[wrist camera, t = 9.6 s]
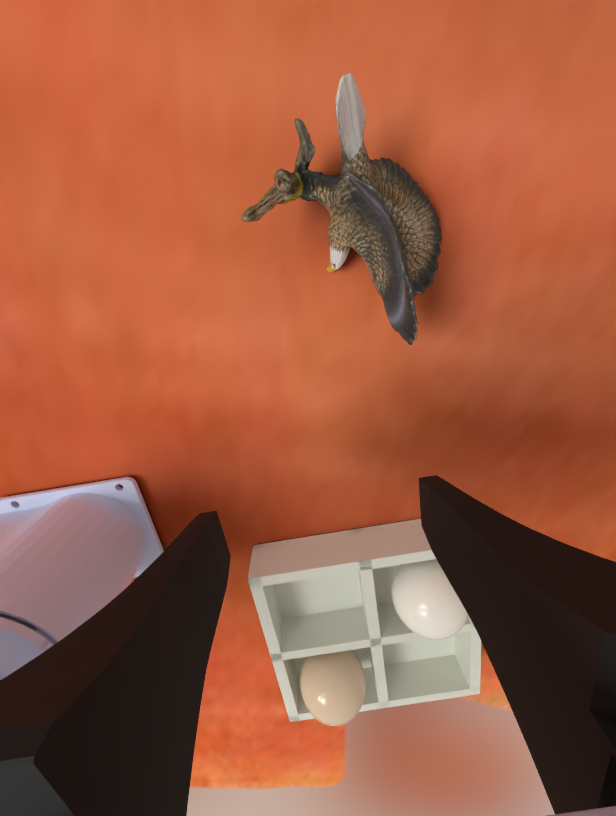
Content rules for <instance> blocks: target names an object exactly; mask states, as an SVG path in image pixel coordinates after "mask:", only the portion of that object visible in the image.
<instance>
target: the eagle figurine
mask: <svg viewBox="0 0 616 816" xmlns="http://www.w3.org/2000/svg"><path fill="white" fill-rule="evenodd" d="M336 114H337V124H338V131H339V137H340V141H341V145H342V148H343V150H342V167H341V173H339V174H337V175H332V176H331V175H324V174H323V173H321V172H312V171H311V170H309V169H308V166H309V163H310V161H311V159H312V157H313V155H314V153H315V147H314V145H313V144H312V142H311V140H310V134H309V133H308V132H307V129H306V127H305V125H304V123H303V121H301V120H300V119H295V126H296V129H297V132H298V135H299V138H300V148H299V152H298V155H297V158H296V162H295V171H294V172H293V173H292V174H291V173H290V172H288V171H286V170H284V169H279V170H278V171H277V172H276V173H275V185H274V186H273V187H272V188H271V189H270V190H269V191H268V192H267V193H266V194H265V195H264V196H263V197H262V198H261V199H260V200H259V201H258V203H256V204H255V205H254V206H251V207H250V208H248V209H247V210H246V211H245V212H244V213H243V214H242V215H241V219H242V220H243V221H245V222H252V221H257V220H259V219H260V218H261V217H262V216H263V215H264V214H265V213H266V212H267V211H269V210H271V209H272V208H274V206H275V205H276V204H285V203H287V202H289V201H293V200H296V199H297V198H299V197H300V198H302V199H304V200H306V201H313V200H316V201H318V202H319V203H320V204H322V205H323V206H325V207H326V209H327V210H328V212H329V214H330V221H329V235H328V238H329V246H330V264H329V266H328V267H327V271H328V272H333V271H335V270H337V269H339V268H340V267H341V266H342V264H343V263H344V262H345V260H346V258H347V256H348V253H349V251H350V248H351V247H352V248H353V249H354V250H355V251H356V252H357V253H358V254H359V255H360V256H361V257H362V258H363V260H364V262H365V263H366V265H367V267H368V270H369V272H370V275H371V278H372V281H373V284H374V286H375V288H376V289H377V291H378V292H379V294H380V295H381V297H382V299H383V301H384V307H385V310H386V313H387V316H388V318H389V321H390V323H391V325H392V327H393V329H394V330H395V331H396V332H399V334H400V335H401V337H402V338H403V339H404V340H406V341H407V342H408V344H409V345H412V344H413V340H416V338H417V336H416V333H417V331H418V330H417V327H416V325H418V321H417V317H416V314H415V313H416V308H415V305H414V296H415V294H416V293H418V294H423V293H424V292H425V288H426V287H429V286H431V284H432V282H433V273H436V272H437V269H438V264H437V260H436V256H438V255H439V254H440V249H439V244H440V242H441V236H440V233H441V231H440V227H439V219H438V218H437V216H436V210H435V209H434V207H432V206H431V202H430V201H429V200H428V197H427V196H426V195H425V194H423V191H422V189H421V188H420V187H419V186H418V184H417V183H416V182H415V181H414V180H412V178H411V176H410V175H409V173H407V171H406V170H405V169H404V168H402V167H400V165H399V164H398V163H394V162H393V161H392V160H391V159H385V158H381V159H380V160H378V159H375V160H373V161H372V160H371V159H369V157H368V154H367V151H366V148H365V145H364V143H363V134H364V128H365V107H364V104H363V101H362V98H361V96H360V94H359V91H358V86H357V83H356V81H355V80H354V77H353V75H352V74H351V73H348V74H346V75H345V74H344V75H343V76H342V78H341V79H340V83H339V86H338V92H337V96H336Z"/></svg>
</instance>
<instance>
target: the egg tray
mask: <svg viewBox="0 0 616 816" xmlns="http://www.w3.org/2000/svg"><path fill="white" fill-rule="evenodd" d="M433 559H436V557H435V556H434V554H433V552H432V550H431V547H430V545H429V543H428V540H427V538H426V536H425V533H424V531H423V528H422V526H421V519H415V520H409V521H402V522H396V523H390V524H384V525H377V526H371V527H365V528H358V529H352V530H346V531H339V532H333V533H327V534H321V535H314V536H308V537H302V538H295V539H289V540H283V541H277V542H270V543H264V544H258V545H253V549H252V555H251V561H250V567H249V573H248V582H249V585H250V589H251V592H252V596H253V599H254V602H255V606H256V609H257V612H258V616H259V619H260V622H261V626H262V629H263V632H264V636H265V639H266V643H267V646H268V649H269V653H270V656H271V659H272V663H273V666H274V669H275V673H276V676H277V680H278V683H279V686H280V690H281V693H282V696H283V700H284V703H285V706H286V710H287V713H288V717H289V720H290V722H293V721H300V720H307V719H313V718H314V717H313V715H312V714H311V713H310V712H309V710H308V709H307V707H306V705H305V703H304V700H303V697H302V694H301V688H300V675H301V669H302V666H303V663H304V661H305V658H306V657H308V656H315V655H321V654H328V653H334V652H341V651H347V650H352V651H353V652H354V653H355V654H356V655H357V657H358V658H359V660H360V662H361V664H362V667H363V670H364V674H365V680H366V690H365V697H364V701H363V704H362V706H361V708H360V710H359V712H360V711H367V710H374V709H381V708H387V707H394V706H401V705H408V704H414V703H421V702H428V701H434V700H441V699H448V698H455V697H462V696H468V695H475V694H480V672H481V639H480V637H479V635H478V633H477V630H476V629H475V627H474V625H473V623H472V621H471V619H470V617H469V615H468V617H467V620H466V622H465V624H464V626H463V627H462V629H461V630H460V631H459V632H458V633H457V634H455V635H454V636H452V637H450V638H447V639H443V640H431V639H427V638H424V637H421V636H419V635H417V634H416V633H414V632H413V631H411V630H410V629H409V628H408V627H407V626H406V625H405V624H404V623H403V622H402V620H401V619H400V617H399V616H398V614H397V612H396V610H395V607H394V604H393V601H392V594H391V587H392V581H393V577H394V575H395V573H396V571H397V569H398V568H399V567H400V566H401V564H408V563H414V562H420V561H427V560H433Z"/></svg>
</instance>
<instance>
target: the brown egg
mask: <svg viewBox="0 0 616 816" xmlns="http://www.w3.org/2000/svg"><path fill="white" fill-rule="evenodd" d="M300 688H301V694H302V697H303V700H304V703H305V705H306V707H307V709H308V710H309V712H310V713H311V714H312V715H313V717H314V718H316V719H317V720H318V721H319V722H321V723H323V724H325V725H329V726H340V725H343V724H346V723H348V722H349V721H350V720H352V719H353V718H354V717H355V716H356V715H357V713H358V712H359V710H360V708H361V706H362V704H363V701H364V697H365V690H366V680H365V674H364V670H363V667H362V664H361V662H360V660H359V658H358V657H357V655H356V654H355V653H354V652H353V651H352V650H347V651H341V652H334V653H328V654H321V655H315V656H308V657H306V658H305V661H304V663H303V666H302V669H301V675H300Z"/></svg>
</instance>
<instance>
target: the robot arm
mask: <svg viewBox="0 0 616 816" xmlns="http://www.w3.org/2000/svg"><path fill="white" fill-rule="evenodd" d="M118 484H121V485H122V486H123V488H122V487H120V486H119V485H118ZM419 490H420V508H421V526H422V528H423V531H424V533H425V536H426V538H427V540H428V543H429V545H430V547H431V550H432V552H433V554H434V556H435V557H436V559H437V561H438V563H439V565H440V566H441V568H442V570H443V572H444V573H445V575H446V577H447V579H448V580H449V582H450V584H451V586H452V587H453V589H454V591H455V593H456V594H457V596H458V598H459V599H460V601H461V603H462V605H463V606H464V608H465V610H466V612H467V613H468V615H469V617H470V619H471V621H472V623H473V625H474V627H475V629H476V630H477V633H478V635H479V637H480V639H481V641H482V643H483V646H484V648H485V650H486V652H487V654H488V656H489V659H490V661H491V663H492V665H493V667H494V670H495V672H496V674H497V676H498V679H499V681H500V683H501V685H502V688H503V690H504V692H505V694H506V697H507V699H508V701H509V704H510V706H511V708H512V711H513V713H514V715H515V718H516V720H517V722H518V725H519V727H520V729H521V732H522V734H523V737H524V739H525V741H526V743H527V746H528V748H529V751H530V753H531V755H532V758H533V760H534V763H535V765H536V768H537V770H538V773H539V775H540V778H541V780H542V783H543V785H544V788H545V790H546V793H547V795H548V798H549V800H550V803H551V805H552V807H553V810H554V813H555V815H548V816H616V562H614V561H611V560H608V559H605V558H602V557H599V556H596V555H593V554H591V553H588V552H585V551H583V550H580V549H577V548H575V547H572V546H569V545H567V544H564V543H562V542H559V541H557V540H555V539H552V538H550V537H548V536H546V535H543V534H541V533H539V532H537V531H534V530H532V529H530V528H528V527H526V526H524V525H522V524H520V523H518V522H516V521H514V520H512V519H510V518H508V517H506V516H504V515H502V514H500V513H498V512H497V511H495V510H493V509H491V508H489V507H488V506H486V505H484V504H483V503H481V502H479V501H477V500H476V499H474V498H472V497H471V496H469V495H468V494H466V493H464V492H463V491H461V490H459V489H458V488H456V487H455V486H453V485H451V484H450V483H448V482H447V481H445V480H443V479H442V478H440V477H438V476H437V475H435V476H429V477H423V478H419ZM17 502H18V503H19V504H18V503H17ZM229 565H230V553H229V550H228V546H227V543H226V540H225V537H224V533H223V530H222V527H221V524H220V521H219V517H218V514H217V511H212V512H206V513H200V514H199V515H198V516H197V517H196V518H195V519H194V520H193V521H192V522H191V523H190V524H189V525H188V526H187V527H186V528H185V529H184V530H183V531H182V532H181V533H180V535H179V536H178V537H177V538H176V539H175V540H174V541H173V542H172V543H171V544H170V545H169V546H168V547H167V548H166V549H165V550H163V547H162V545H161V542H160V540H159V537H158V535H157V532H156V530H155V527H154V525H153V522H152V520H151V517H150V515H149V512H148V510H147V507H146V505H145V502H144V500H143V497H142V494H141V492H140V489H139V487H138V484H137V482H136V480H135V479H133V478H131V477H123V478H117V479H111V480H105V481H99V482H93V483H86V484H80V485H74V486H68V487H62V488H56V489H50V490H44V491H38V492H32V493H26V494H19V495H13V496H7V497H1V498H0V816H186V813H187V803H188V795H189V787H190V779H191V771H192V762H193V754H194V747H195V740H196V732H197V725H198V718H199V711H200V705H201V699H202V692H203V686H204V680H205V674H206V668H207V664H208V659H209V654H210V651H211V647H212V643H213V639H214V635H215V631H216V627H217V623H218V619H219V615H220V611H221V607H222V603H223V599H224V595H225V591H226V587H227V581H228V574H229ZM133 577H137V578H136V579H135V580H134V581H133V582H132V583H131V581H132V579H133ZM130 583H131V584H130ZM129 584H130V585H129Z"/></svg>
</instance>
